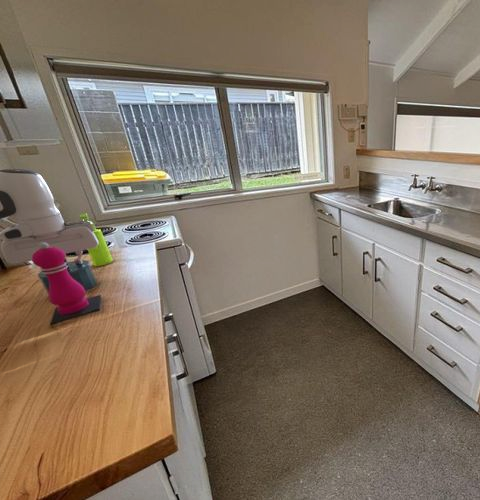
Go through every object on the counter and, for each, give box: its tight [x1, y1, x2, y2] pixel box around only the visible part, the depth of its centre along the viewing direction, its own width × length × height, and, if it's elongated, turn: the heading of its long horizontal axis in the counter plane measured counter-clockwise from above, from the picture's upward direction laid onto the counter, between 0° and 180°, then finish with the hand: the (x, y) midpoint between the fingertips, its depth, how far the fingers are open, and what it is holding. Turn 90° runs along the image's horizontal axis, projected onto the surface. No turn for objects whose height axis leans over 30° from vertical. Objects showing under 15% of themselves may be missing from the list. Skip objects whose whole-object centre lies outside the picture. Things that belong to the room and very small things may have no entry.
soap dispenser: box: [79, 213, 114, 267], centre depth 108 cm, size 6×7×20 cm
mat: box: [49, 294, 102, 326], centre depth 80 cm, size 10×10×1 cm
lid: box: [37, 258, 91, 280], centre depth 88 cm, size 12×12×5 cm
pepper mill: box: [32, 242, 89, 315], centre depth 76 cm, size 7×7×20 cm
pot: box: [39, 264, 98, 296], centre depth 90 cm, size 11×11×8 cm
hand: (64, 267), depth 88 cm, fingers open, 6 cm apart
